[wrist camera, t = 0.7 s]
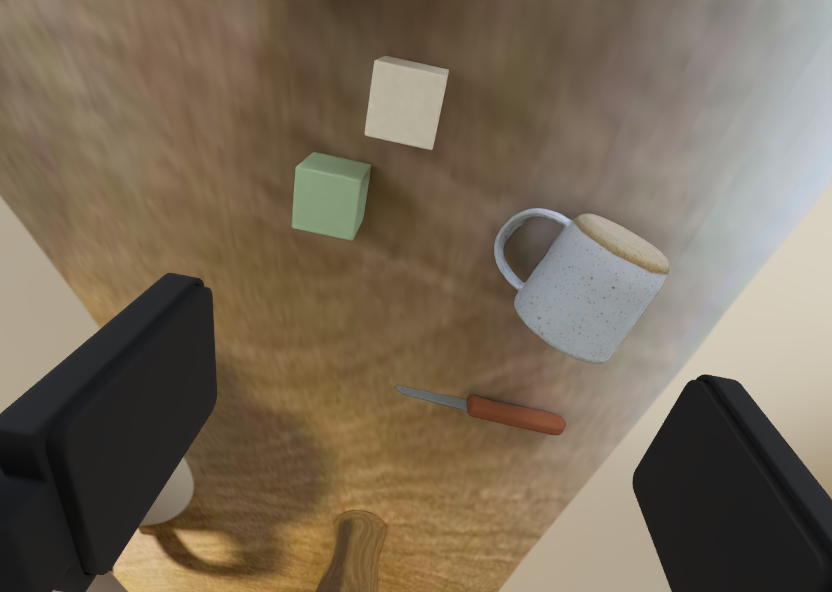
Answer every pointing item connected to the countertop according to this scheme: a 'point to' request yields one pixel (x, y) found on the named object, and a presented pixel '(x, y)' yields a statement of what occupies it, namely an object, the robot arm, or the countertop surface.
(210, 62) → the countertop surface
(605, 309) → the ceramic mug
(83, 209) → the countertop surface
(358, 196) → the sage block
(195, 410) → the robot arm
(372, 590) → the beer glass
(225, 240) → the countertop surface
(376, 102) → the cream block
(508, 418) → the kitchen knife
